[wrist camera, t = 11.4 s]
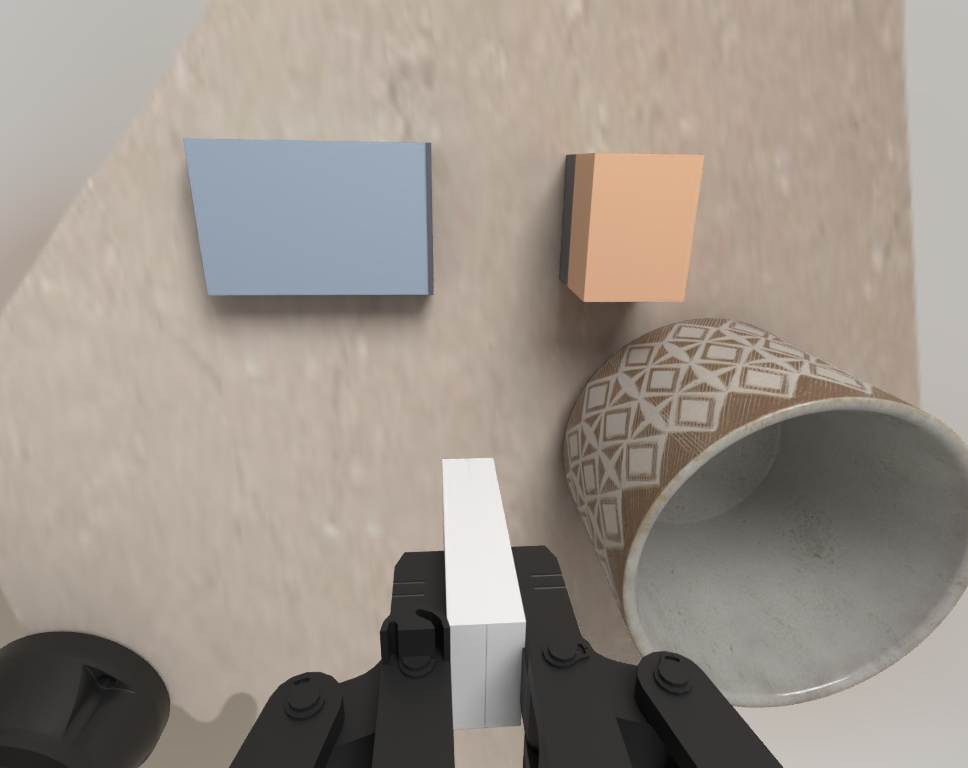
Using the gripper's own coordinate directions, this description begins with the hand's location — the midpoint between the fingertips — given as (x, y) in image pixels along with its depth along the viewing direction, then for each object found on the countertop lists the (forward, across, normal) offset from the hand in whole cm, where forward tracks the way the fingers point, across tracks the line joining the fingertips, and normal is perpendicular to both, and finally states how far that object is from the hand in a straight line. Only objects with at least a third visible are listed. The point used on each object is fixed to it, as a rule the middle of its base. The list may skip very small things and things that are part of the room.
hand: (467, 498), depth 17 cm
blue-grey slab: (+24, -8, +6) cm, 26 cm away
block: (+24, +11, +6) cm, 27 cm away
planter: (+25, +18, -10) cm, 32 cm away
